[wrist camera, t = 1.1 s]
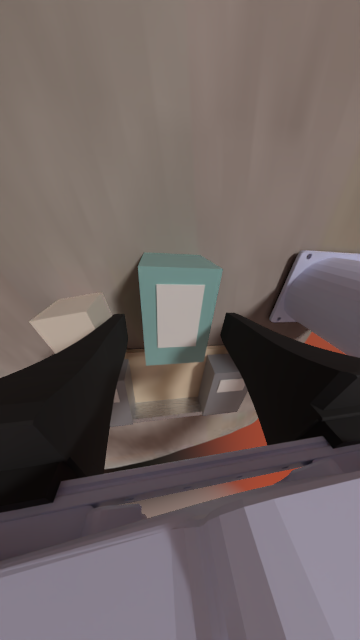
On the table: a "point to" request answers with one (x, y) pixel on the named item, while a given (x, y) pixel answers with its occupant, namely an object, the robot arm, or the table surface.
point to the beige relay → (71, 319)
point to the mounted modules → (214, 394)
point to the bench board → (166, 376)
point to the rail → (166, 409)
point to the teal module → (177, 306)
